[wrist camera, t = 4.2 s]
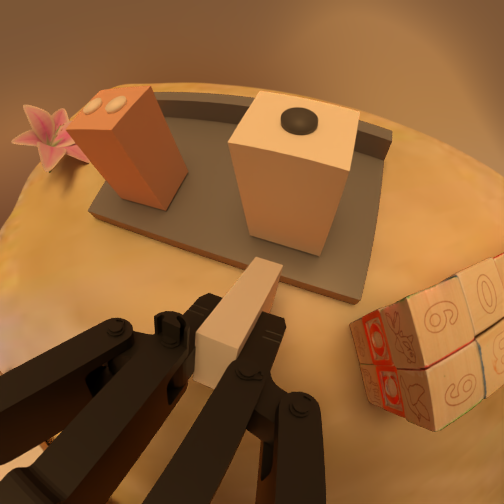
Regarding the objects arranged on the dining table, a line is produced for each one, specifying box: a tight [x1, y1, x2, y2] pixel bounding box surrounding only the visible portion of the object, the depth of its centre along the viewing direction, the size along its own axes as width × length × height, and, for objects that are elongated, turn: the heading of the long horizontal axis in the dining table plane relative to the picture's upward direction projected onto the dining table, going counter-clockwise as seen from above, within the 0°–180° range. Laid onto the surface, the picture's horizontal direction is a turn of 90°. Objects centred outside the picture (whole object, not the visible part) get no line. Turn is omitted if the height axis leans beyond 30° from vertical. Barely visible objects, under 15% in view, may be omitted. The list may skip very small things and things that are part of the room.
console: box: [88, 92, 392, 305], centre depth 21 cm, size 24×14×4 cm, turn 70°
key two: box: [65, 86, 188, 211], centre depth 17 cm, size 5×4×9 cm
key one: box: [228, 91, 360, 256], centre depth 15 cm, size 5×4×9 cm
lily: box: [11, 105, 90, 173], centre depth 24 cm, size 12×12×10 cm
